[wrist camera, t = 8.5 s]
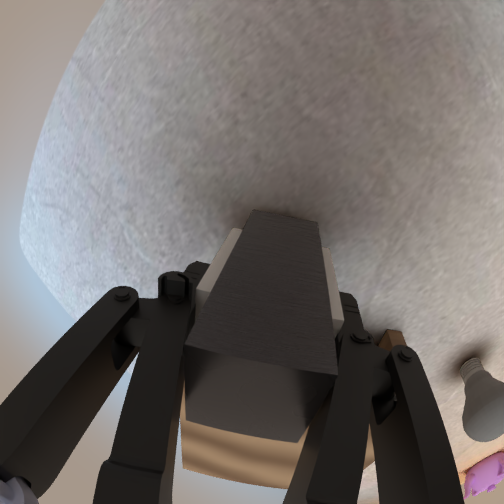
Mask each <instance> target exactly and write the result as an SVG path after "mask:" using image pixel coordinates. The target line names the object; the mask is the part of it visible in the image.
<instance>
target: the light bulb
mask: <svg viewBox="0 0 504 504" xmlns="http://www.w3.org/2000/svg"><path fill="white" fill-rule="evenodd" d="M460 374H461V376H462V379H463V381H464V383H465V388H464V390H465V395H466V400H465V406H464V411H463V416H462V420H463V428H464V431H465V432H466V434H467V435H468V436H469V437H470V438H472V439H473V440H475V441H479V442H488V441H492V440H494V439H496V438H498V437H500V436H501V435H502V434H503V433H504V383H503V382H501V381H498V380H497V379H495V378H493V377H492V376H491V374H490V373H489V372H487V371H485V370H484V368H483V366H482V364H481V362H480V360H479V359H478V358H472V359H470V360H468V361H467V362H466V363H464V365H463V366H462V367H461V369H460Z"/></svg>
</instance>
